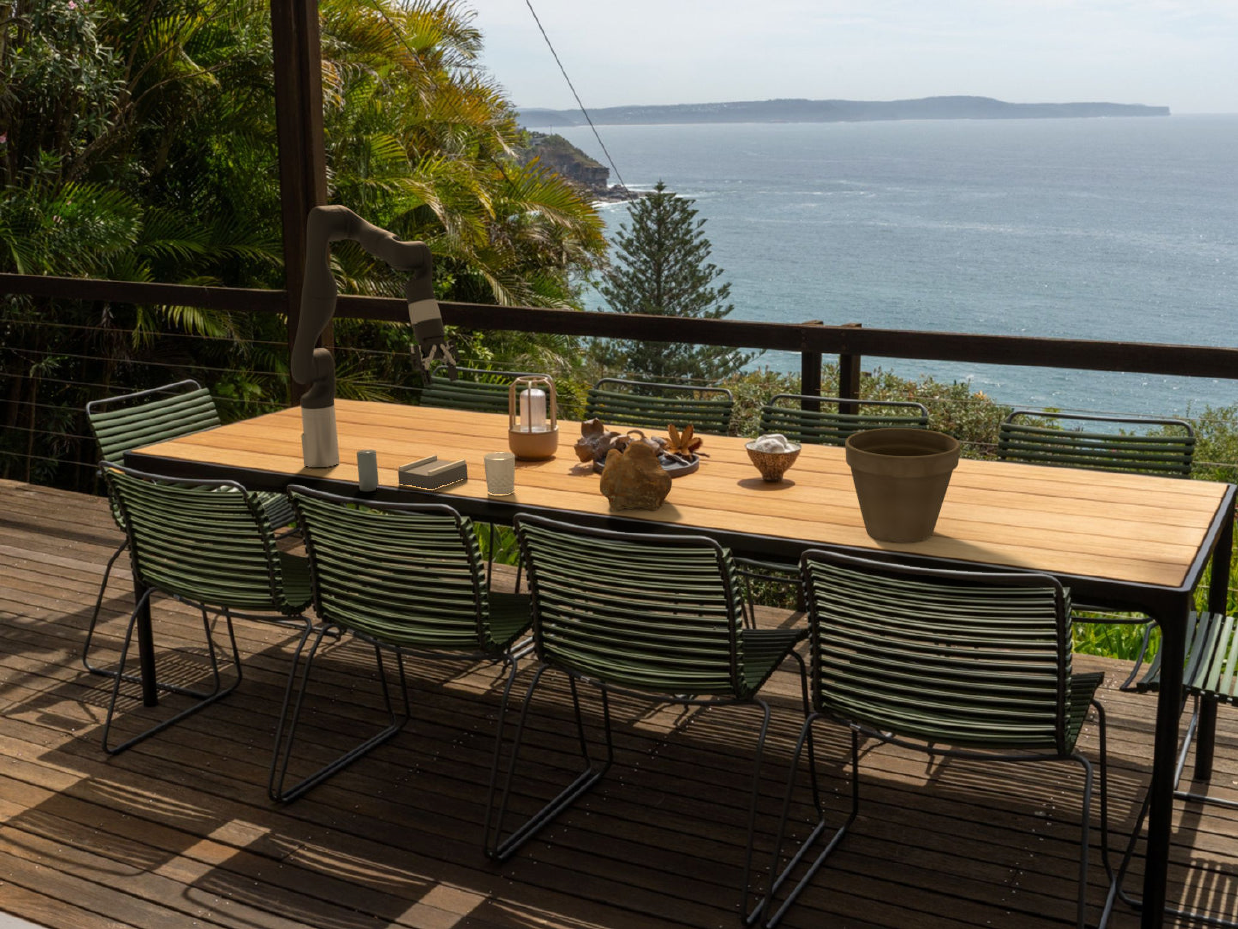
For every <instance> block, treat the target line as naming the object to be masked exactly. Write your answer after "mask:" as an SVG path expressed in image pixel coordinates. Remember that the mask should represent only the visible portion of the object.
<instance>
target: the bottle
mask: <svg viewBox="0 0 1238 929" xmlns="http://www.w3.org/2000/svg"><path fill="white" fill-rule="evenodd" d="M377 459H378V458H377V450H376V449H375V450H374V449H362V450H358V451H357V452H356V462H357V471H358V475H357V476H358V484H359V485H358V486H359V491H361V492H373V491H376V487H377V486H378V485H379V475H378V474H379V473H378V472H379V471H378V460H377ZM379 486H380V485H379Z"/></svg>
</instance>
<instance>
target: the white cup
mask: <svg viewBox="0 0 1238 929" xmlns="http://www.w3.org/2000/svg"><path fill="white" fill-rule="evenodd" d="M515 457H516V456H515V454H514V453H513V452H508V451H498V452H496V451H495V452H490V453H486V454H485V455H483V463H484V473H485V480H486V481H485V482H486V486H487V493H488V492H490V493H492V494H509V493H512V492H513V491H514V492H515V471H516V470H515V468H516V467H515V466H516V465H515V461H516V460H515V459H516V458H515Z"/></svg>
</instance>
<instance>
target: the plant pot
mask: <svg viewBox="0 0 1238 929" xmlns="http://www.w3.org/2000/svg"><path fill="white" fill-rule="evenodd" d="M844 445H845V462H846V464H847V465H848V466H849V467H850V471H851V476H852V480H853V484H854V488H855V492H856V496H857V501H858V505H859V508H860V512H861V513H860V514H861V516H862V520H863V523H864V527H865V531H866V534H867V535H869V537H871V538H874V539H876V540H879V541H883V542H888V543H896V544H909V543H912V544H913V543H919V542H924V541H926V540H928V539H929V538H931V537H932V535H933V534H934V531H935V528H936V526H937V521H938V518H939V515H940V512H941V510H942V506H943V503H944V500H945V497H946V494H947V491H948V489H949V484H950V481H951V479H952V474H953V471H955V469H957V467H958V466H959V462H960V461H959V460H960V452H961V442H960V441H959V440H958V439H956V438H955V437H953V436H951V435H949V434H946V433H942V432H938V431H934V430H927V429H921V428H920V429H919V428H905V427H887V428H884V427H883V428H875V429H869V430H868V429H867V430H863V431H858V432H856V433H853V434H851V435H849V436H848V437H847V438H846V439H845V444H844Z"/></svg>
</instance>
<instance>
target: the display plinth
mask: <svg viewBox="0 0 1238 929" xmlns="http://www.w3.org/2000/svg"><path fill="white" fill-rule="evenodd" d="M466 462H467V461H466V459H459V460H457V461H449V460H444V459H443V460H442V459H438V455H437V454H433V455H430V456H427V457H423V458H421V459H418V460H414V461H412V462H408V463H406V464H403V465H399V466H398V470H397V475H398V476H397V477H398V485H399V484H403V485H412V486H416V487H421V488H427V489H435V488H438V487H440V486H442V485H447V484H450V483H452V482H456V481H458V480H461V479H465V480H467V479H466V478H468V464H467V463H466Z"/></svg>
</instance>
